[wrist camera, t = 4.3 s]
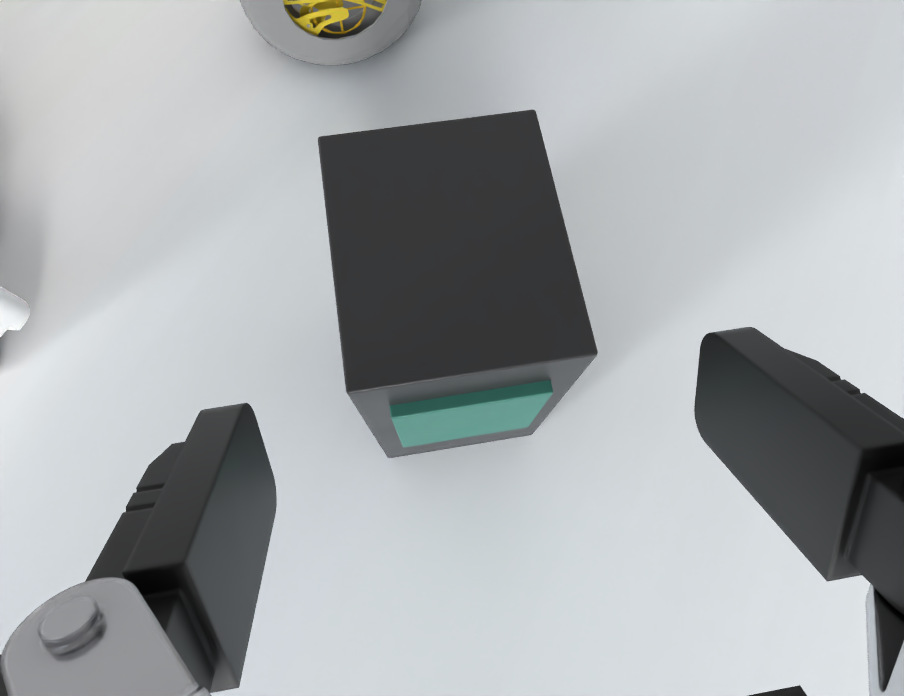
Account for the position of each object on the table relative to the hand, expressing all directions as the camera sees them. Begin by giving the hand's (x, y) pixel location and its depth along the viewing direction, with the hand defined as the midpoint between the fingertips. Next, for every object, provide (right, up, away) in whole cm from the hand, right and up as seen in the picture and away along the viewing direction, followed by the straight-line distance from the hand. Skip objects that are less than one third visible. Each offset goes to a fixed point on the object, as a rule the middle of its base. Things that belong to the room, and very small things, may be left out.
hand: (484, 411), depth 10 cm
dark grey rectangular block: (-1, +1, +10) cm, 10 cm away
